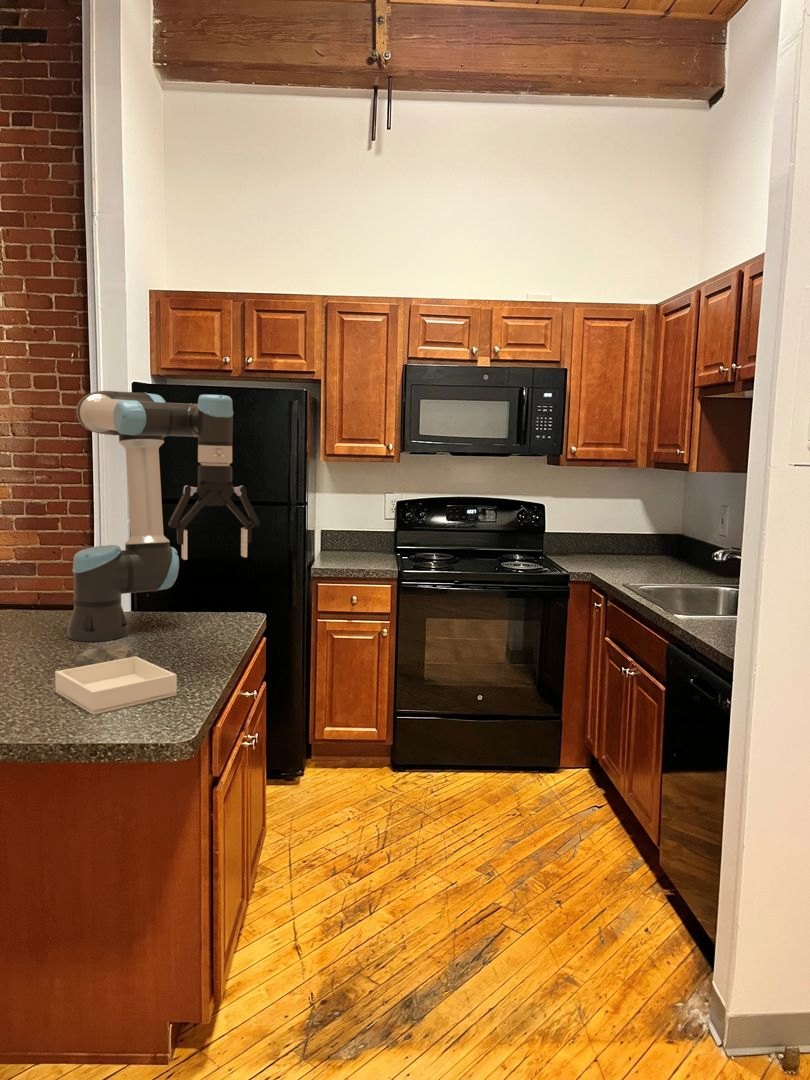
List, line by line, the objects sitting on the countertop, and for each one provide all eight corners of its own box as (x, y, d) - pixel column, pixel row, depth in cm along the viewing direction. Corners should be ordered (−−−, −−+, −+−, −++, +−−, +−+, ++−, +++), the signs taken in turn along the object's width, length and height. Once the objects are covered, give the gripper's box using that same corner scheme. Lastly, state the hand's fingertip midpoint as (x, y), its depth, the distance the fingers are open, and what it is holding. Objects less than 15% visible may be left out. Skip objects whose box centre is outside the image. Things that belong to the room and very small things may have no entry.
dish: (55, 692, 160) (55, 671, 160) (136, 675, 173) (135, 656, 172) (93, 714, 148) (92, 692, 148) (176, 695, 161) (176, 674, 160)
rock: (67, 676, 171) (67, 647, 170) (79, 665, 179) (78, 637, 179) (130, 676, 173) (130, 647, 172) (139, 665, 181) (139, 638, 180)
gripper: (160, 464, 166) (161, 562, 169) (273, 466, 177) (272, 558, 180) (154, 462, 172) (155, 556, 175) (264, 464, 184) (263, 553, 187)
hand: (214, 557), depth 178 cm, fingers open, 13 cm apart
